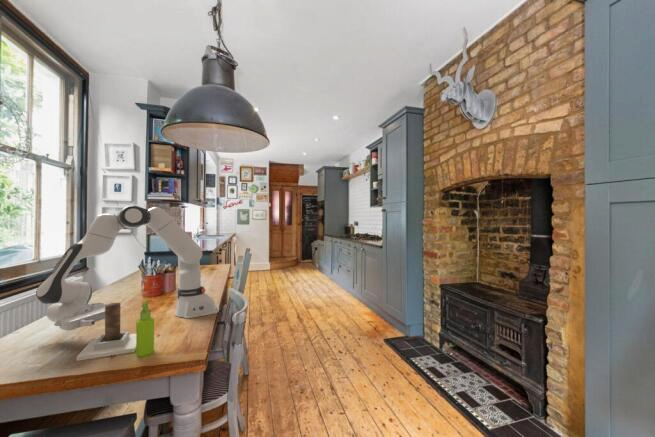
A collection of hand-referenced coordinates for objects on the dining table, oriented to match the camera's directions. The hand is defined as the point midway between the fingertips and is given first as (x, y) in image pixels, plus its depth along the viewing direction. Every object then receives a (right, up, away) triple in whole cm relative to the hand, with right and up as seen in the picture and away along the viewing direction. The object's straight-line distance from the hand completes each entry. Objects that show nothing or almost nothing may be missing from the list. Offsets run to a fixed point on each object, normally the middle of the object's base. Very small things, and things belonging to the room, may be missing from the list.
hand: (105, 319), depth 116 cm
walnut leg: (+4, -10, -1) cm, 10 cm away
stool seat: (+4, -11, -1) cm, 12 cm away
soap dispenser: (+20, -12, -6) cm, 24 cm away
